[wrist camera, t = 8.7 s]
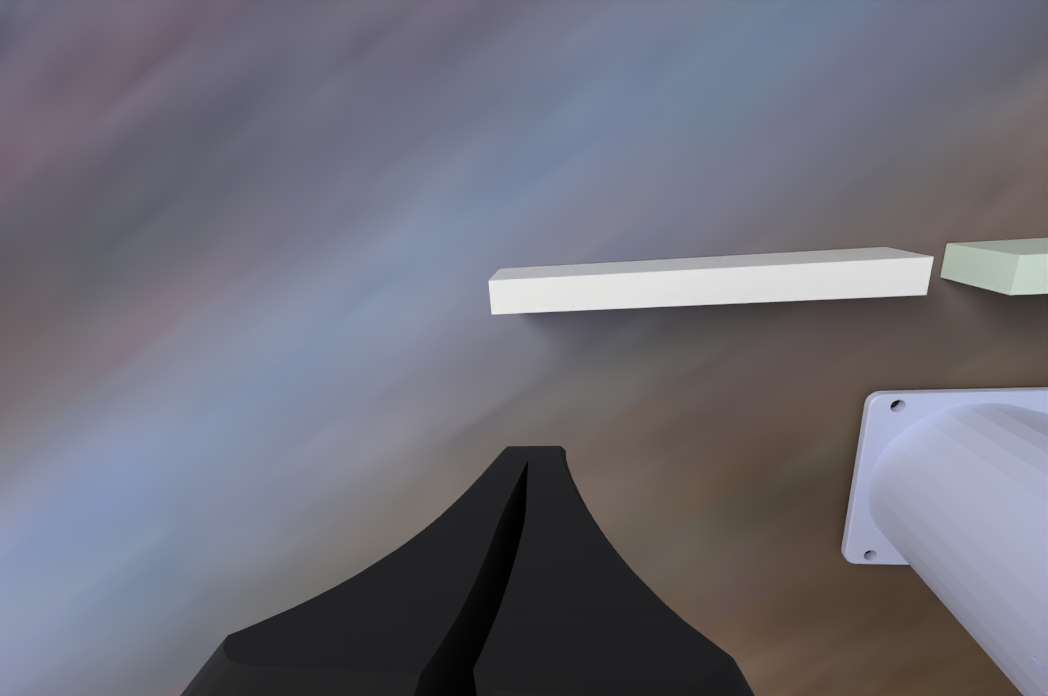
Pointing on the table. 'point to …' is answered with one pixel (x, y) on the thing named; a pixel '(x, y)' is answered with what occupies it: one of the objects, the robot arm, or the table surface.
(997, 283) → the sage corral
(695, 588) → the table surface
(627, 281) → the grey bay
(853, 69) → the table surface
